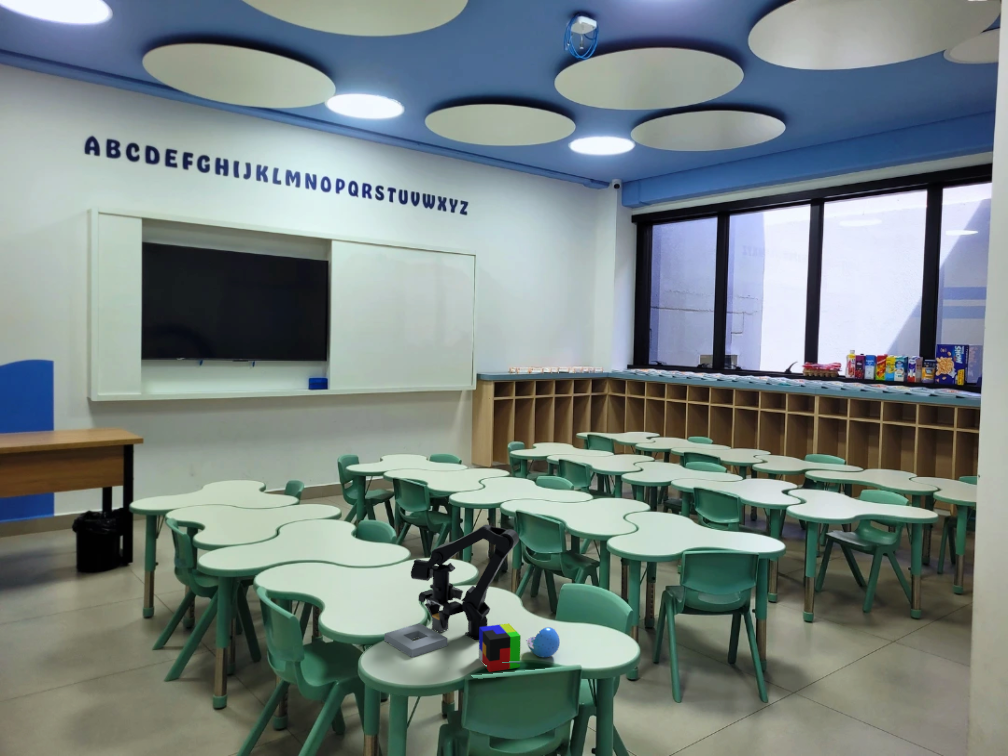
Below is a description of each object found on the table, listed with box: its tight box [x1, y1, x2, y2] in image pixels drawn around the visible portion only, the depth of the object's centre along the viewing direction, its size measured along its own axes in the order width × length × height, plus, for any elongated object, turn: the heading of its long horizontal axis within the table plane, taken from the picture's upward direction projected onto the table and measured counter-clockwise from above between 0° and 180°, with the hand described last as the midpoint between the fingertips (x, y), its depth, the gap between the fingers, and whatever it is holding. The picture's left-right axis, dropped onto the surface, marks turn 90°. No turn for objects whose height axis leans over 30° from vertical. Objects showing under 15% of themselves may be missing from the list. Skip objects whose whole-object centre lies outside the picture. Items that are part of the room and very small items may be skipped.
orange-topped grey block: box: [431, 613, 449, 633], centre depth 243 cm, size 4×4×5 cm
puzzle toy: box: [478, 622, 522, 673], centre depth 219 cm, size 10×10×10 cm
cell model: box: [525, 626, 560, 659], centre depth 225 cm, size 10×12×10 cm
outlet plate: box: [383, 622, 448, 658], centre depth 232 cm, size 16×14×2 cm
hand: (440, 626), depth 243 cm, fingers closed on orange-topped grey block, 4 cm apart
